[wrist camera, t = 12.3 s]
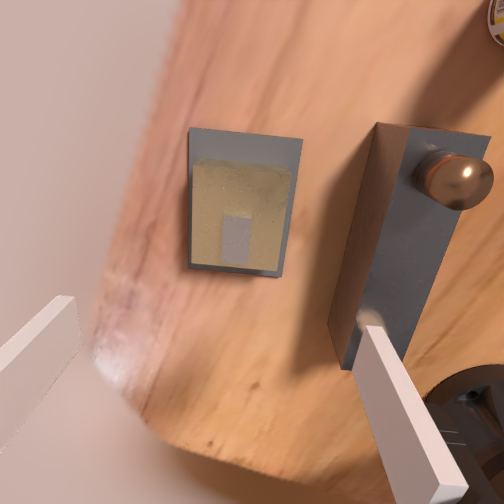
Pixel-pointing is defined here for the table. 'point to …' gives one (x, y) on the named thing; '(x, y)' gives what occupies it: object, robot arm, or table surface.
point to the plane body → (403, 230)
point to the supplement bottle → (496, 20)
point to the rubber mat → (248, 151)
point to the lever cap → (238, 213)
